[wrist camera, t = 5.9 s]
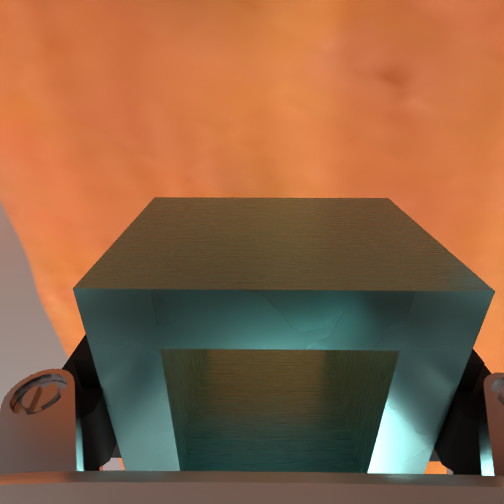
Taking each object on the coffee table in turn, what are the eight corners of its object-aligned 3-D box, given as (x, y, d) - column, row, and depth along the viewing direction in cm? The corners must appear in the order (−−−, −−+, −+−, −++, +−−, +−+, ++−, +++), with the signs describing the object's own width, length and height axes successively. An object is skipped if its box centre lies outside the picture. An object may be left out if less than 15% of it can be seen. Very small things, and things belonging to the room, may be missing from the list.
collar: (154, 197, 10) (73, 288, 6) (388, 198, 10) (495, 291, 5) (178, 368, 13) (137, 513, 9) (355, 369, 13) (406, 517, 9)
